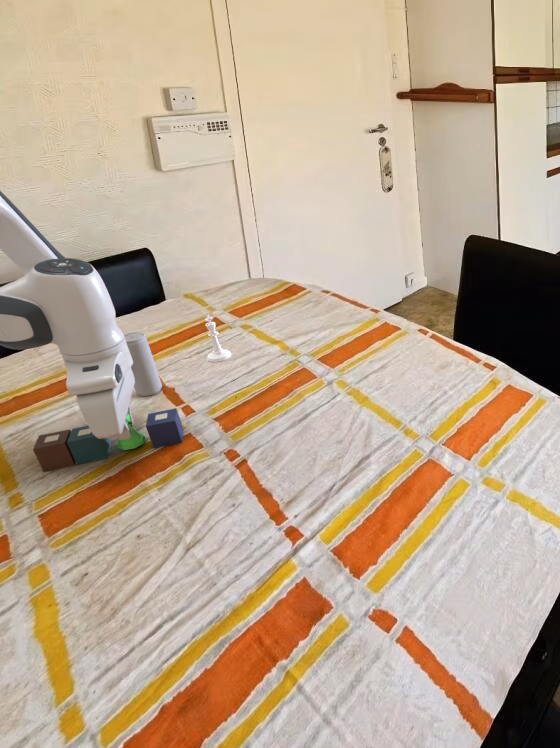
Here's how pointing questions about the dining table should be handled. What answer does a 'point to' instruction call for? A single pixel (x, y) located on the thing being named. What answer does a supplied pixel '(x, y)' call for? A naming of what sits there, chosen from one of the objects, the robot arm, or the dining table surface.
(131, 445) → the game piece
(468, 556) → the dining table surface
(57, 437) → the letter blocks
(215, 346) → the chess piece
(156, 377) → the beverage can
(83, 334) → the robot arm
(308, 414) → the dining table surface
